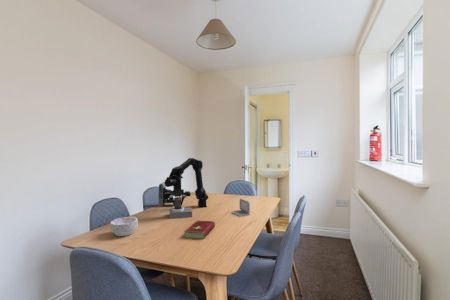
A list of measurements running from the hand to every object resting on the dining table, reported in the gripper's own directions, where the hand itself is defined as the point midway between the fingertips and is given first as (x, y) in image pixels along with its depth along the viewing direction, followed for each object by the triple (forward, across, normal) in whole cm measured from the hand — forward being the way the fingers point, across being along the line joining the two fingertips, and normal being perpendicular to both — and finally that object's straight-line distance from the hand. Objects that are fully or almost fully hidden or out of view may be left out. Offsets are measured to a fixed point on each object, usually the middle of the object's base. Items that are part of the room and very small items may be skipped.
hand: (177, 205), depth 184 cm
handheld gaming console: (+8, +46, -7) cm, 47 cm away
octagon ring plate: (+7, +2, 0) cm, 7 cm away
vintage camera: (+8, -7, +35) cm, 36 cm away
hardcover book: (+8, +12, -39) cm, 42 cm away
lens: (+2, 0, 0) cm, 2 cm away
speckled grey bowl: (+7, -32, -30) cm, 45 cm away
